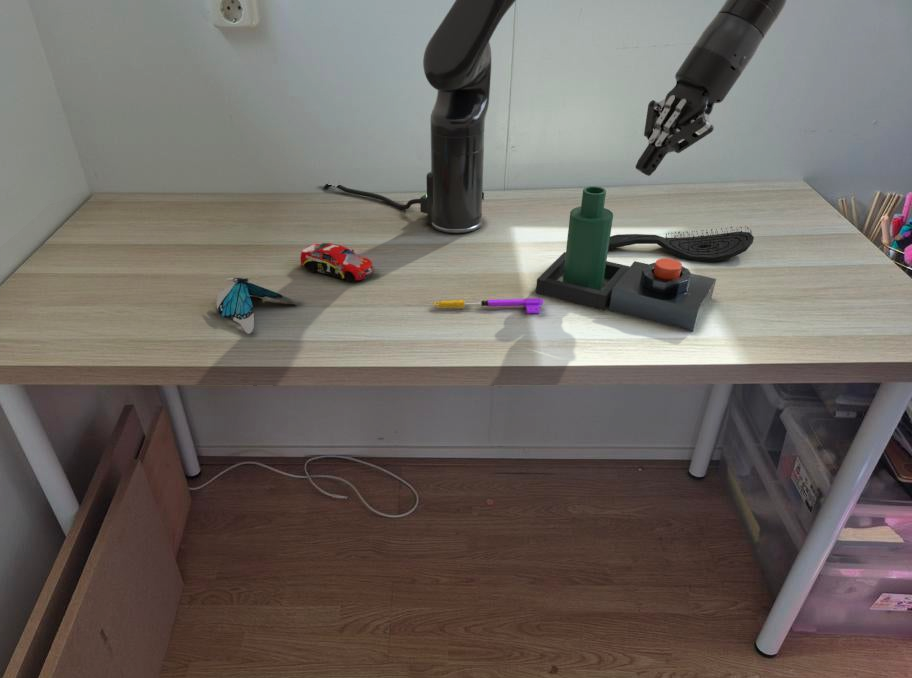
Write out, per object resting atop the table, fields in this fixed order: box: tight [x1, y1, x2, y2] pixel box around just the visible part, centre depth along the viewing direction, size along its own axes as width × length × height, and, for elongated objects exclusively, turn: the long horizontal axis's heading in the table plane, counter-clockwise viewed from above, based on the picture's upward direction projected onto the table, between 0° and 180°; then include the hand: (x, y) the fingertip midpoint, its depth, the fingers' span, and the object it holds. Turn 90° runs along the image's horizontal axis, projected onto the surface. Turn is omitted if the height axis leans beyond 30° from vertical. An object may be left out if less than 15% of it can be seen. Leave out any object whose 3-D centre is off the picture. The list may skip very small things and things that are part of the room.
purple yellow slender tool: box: [434, 297, 544, 314], centre depth 104 cm, size 3×1×16 cm
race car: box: [299, 242, 374, 283], centre depth 116 cm, size 13×5×4 cm, turn 57°
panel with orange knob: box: [608, 260, 717, 333], centre depth 102 cm, size 12×10×6 cm
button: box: [653, 257, 683, 279], centre depth 100 cm, size 4×4×2 cm
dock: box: [535, 251, 631, 311], centre depth 108 cm, size 11×11×2 cm
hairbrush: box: [608, 226, 755, 263], centre depth 117 cm, size 8×4×25 cm
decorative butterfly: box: [216, 275, 298, 335], centre depth 106 cm, size 10×6×10 cm
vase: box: [562, 185, 614, 291], centre depth 105 cm, size 6×6×16 cm
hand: (642, 172), depth 103 cm, fingers closed
